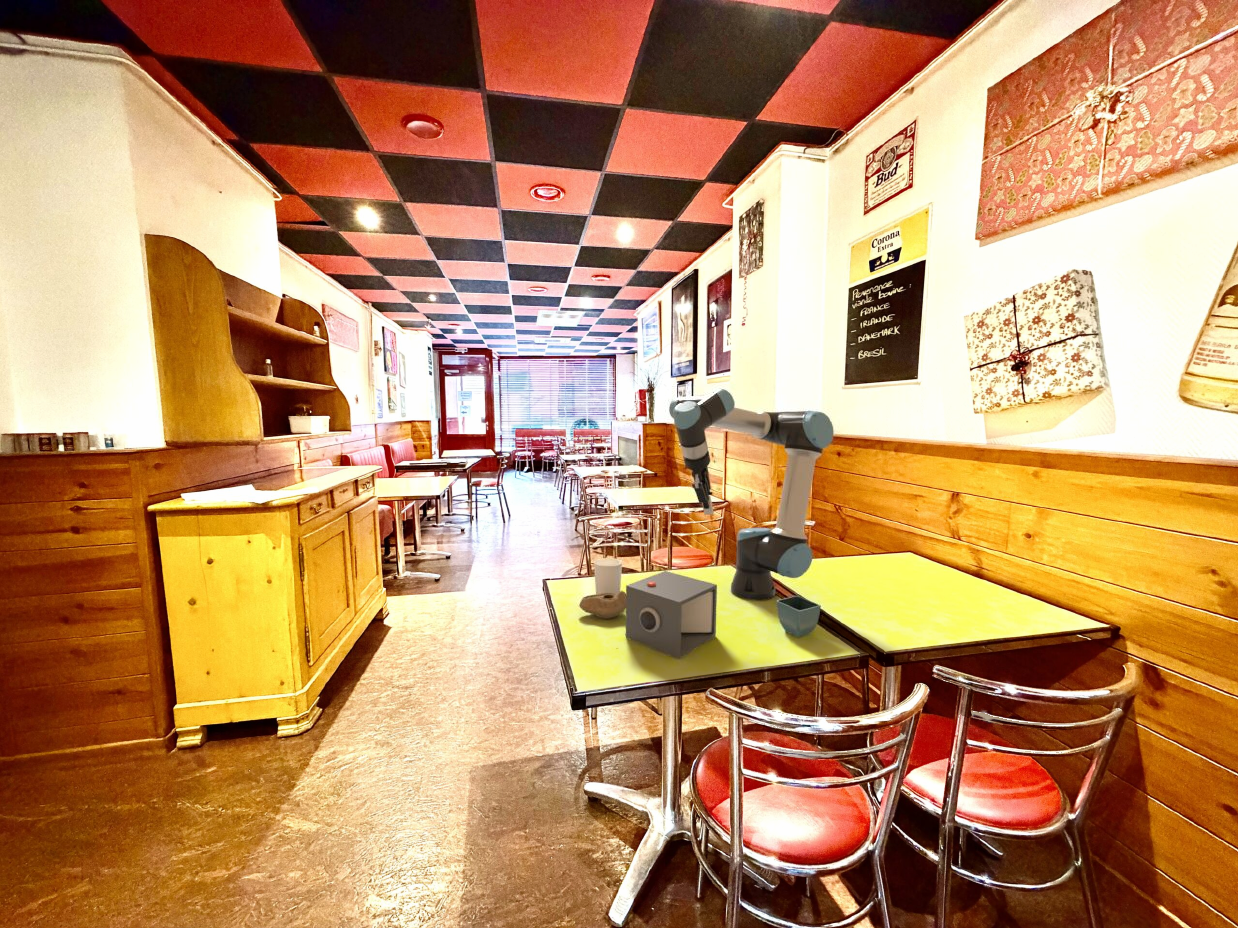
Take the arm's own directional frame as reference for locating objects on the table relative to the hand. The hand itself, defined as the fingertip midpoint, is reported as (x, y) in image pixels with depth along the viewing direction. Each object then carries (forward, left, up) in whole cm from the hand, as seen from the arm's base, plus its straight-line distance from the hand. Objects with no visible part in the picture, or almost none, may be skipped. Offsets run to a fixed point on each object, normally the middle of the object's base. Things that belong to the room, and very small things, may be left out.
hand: (709, 513), depth 153 cm
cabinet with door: (+19, +15, -31) cm, 40 cm away
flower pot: (-17, +23, -32) cm, 43 cm away
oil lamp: (+33, -5, -32) cm, 46 cm away
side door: (+16, +17, -30) cm, 38 cm away
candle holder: (+27, -21, -32) cm, 47 cm away
